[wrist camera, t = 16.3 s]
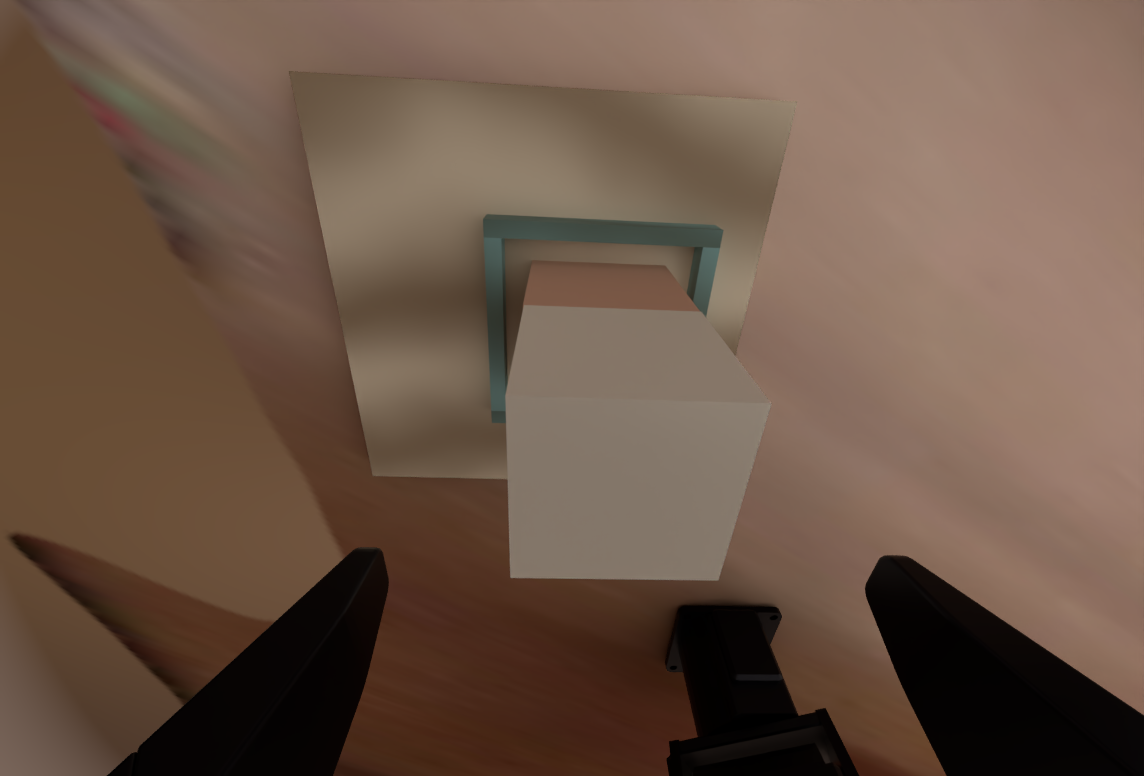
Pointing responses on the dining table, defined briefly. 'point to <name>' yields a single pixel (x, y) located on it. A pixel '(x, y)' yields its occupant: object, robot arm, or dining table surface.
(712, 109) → the base plate
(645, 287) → the terracotta block
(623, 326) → the cream block
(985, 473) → the dining table surface
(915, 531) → the dining table surface
